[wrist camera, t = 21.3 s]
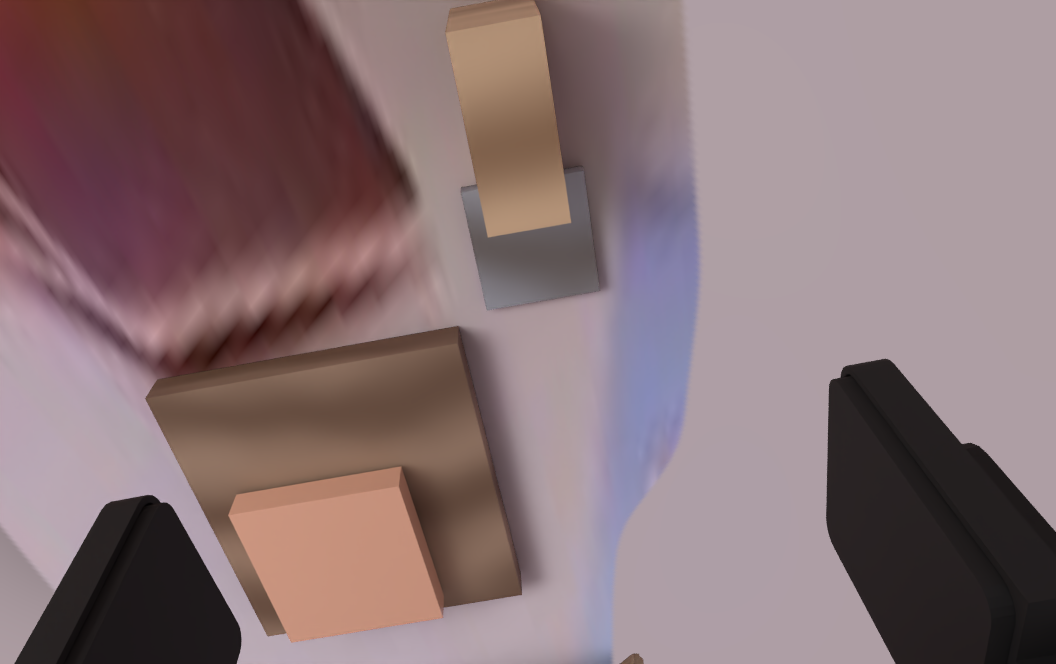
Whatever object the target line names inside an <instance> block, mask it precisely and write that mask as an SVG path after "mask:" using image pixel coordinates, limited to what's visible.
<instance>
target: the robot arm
mask: <svg viewBox="0 0 1056 664" xmlns="http://www.w3.org/2000/svg"><path fill="white" fill-rule="evenodd" d="M827 463H828V464H827V509H826V521H827V528H828V533H829V536H830V539H831V542H832V544H833V546H834V548H835V550H836V552H837V554H838V556H839V558H840V560H841V562H842V563H843V565H844V567H845V569H846V571H847V573H848V575H849V577H850V579H851V580H852V582H853V584H854V586H855V588H856V590H857V592H858V594H859V596H860V597H861V599H862V601H863V603H864V605H865V607H866V609H867V611H868V612H869V614H870V616H871V618H872V620H873V622H874V624H875V626H876V628H877V629H878V631H879V633H880V635H881V637H882V639H883V641H884V643H885V644H886V646H887V648H888V650H889V652H890V654H891V656H892V658H893V659H894V661H895V663H896V664H1056V532H1055V531H1054V529H1053V528H1052V527H1051V526H1050V525H1049V524H1048V523H1047V522H1046V520H1045V519H1044V518H1043V517H1042V516H1041V515H1040V513H1038V511H1037V510H1036V509H1035V508H1034V507H1033V506H1032V504H1031V503H1030V502H1029V501H1028V500H1027V499H1026V497H1025V496H1024V495H1023V494H1022V493H1021V492H1020V491H1019V490H1018V488H1017V487H1016V486H1015V485H1014V484H1013V483H1012V481H1011V480H1010V479H1009V478H1008V477H1007V476H1006V475H1005V473H1004V472H1003V471H1002V470H1001V469H1000V468H999V467H998V465H997V464H996V463H995V462H994V461H993V460H992V458H991V457H990V456H989V455H988V454H987V453H986V452H984V450H983V449H981V448H980V447H979V446H977V445H975V444H972V443H967V444H961V443H960V442H959V440H958V439H957V438H956V437H955V436H954V434H952V432H951V431H950V430H949V428H948V427H947V426H946V425H945V424H944V423H943V421H942V420H941V419H940V418H939V417H938V416H937V414H936V413H935V412H934V411H933V410H932V408H931V407H930V406H929V405H928V404H927V402H926V401H925V400H924V399H923V398H922V397H921V395H920V394H919V393H918V392H917V391H916V389H914V387H913V386H912V385H911V384H910V382H909V381H908V380H907V379H906V378H905V376H904V375H903V374H902V373H901V372H900V370H898V368H897V367H896V366H895V364H894V363H892V362H891V361H890V360H888V359H881V360H876V361H871V362H865V363H860V364H855V365H849V366H845V367H844V368H843V370H842V372H841V378H837V379H833V380H831V382H830V384H829V416H828V462H827ZM240 649H241V631H240V627H239V625H238V622H237V621H236V619H235V617H234V615H233V613H232V612H231V610H230V608H229V606H228V605H227V603H226V601H225V599H224V598H223V596H222V594H221V592H220V590H219V589H218V587H217V585H216V583H215V582H214V580H213V578H212V576H211V575H210V573H209V571H208V569H207V567H206V566H205V564H204V562H203V560H202V559H201V557H200V555H199V553H198V552H197V550H196V548H195V546H194V544H193V543H192V541H191V539H190V537H189V536H188V534H187V532H186V530H185V529H184V527H183V525H182V523H181V521H180V520H179V518H178V516H177V514H176V513H175V511H174V509H173V508H172V506H171V505H169V504H168V503H160V501H159V500H158V499H157V498H156V497H154V496H153V495H145V496H140V497H135V498H129V499H124V500H118V501H113V502H110V503H108V504H106V505H105V506H104V508H103V509H102V510H101V512H100V514H99V515H98V517H97V519H96V521H95V522H94V524H93V526H92V528H91V529H90V531H89V533H88V535H87V537H86V538H85V540H84V542H83V544H82V545H81V547H80V549H79V551H78V552H77V554H76V556H75V558H74V559H73V561H72V563H71V565H70V567H69V568H68V570H67V572H66V574H65V575H64V577H63V579H62V581H61V582H60V584H59V586H58V588H57V590H56V591H55V593H54V595H53V597H52V598H51V600H50V602H49V604H48V605H47V607H46V609H45V611H44V613H43V614H42V616H41V618H40V620H39V621H38V623H37V625H36V627H35V629H34V630H33V632H32V634H31V635H30V637H29V639H28V641H27V642H26V644H25V646H24V648H23V650H22V651H21V653H20V655H19V657H18V658H17V660H16V662H15V664H237V660H238V657H239V654H240Z"/></svg>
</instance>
